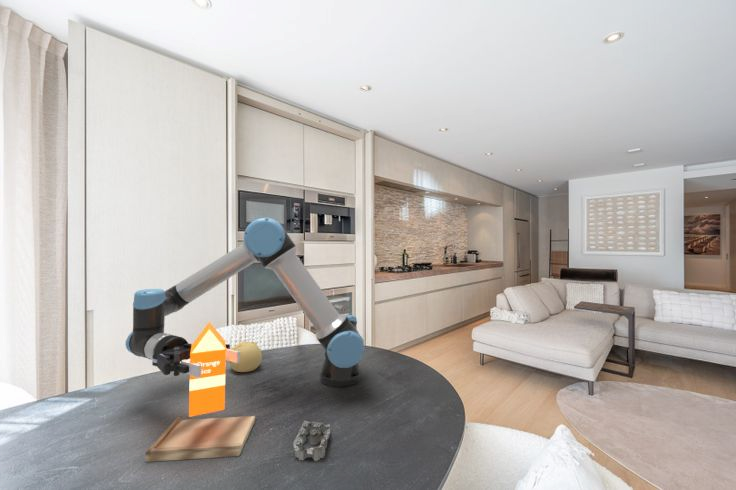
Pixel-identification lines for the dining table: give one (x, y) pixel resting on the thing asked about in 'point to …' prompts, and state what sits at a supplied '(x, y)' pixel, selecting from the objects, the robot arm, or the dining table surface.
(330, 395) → the dining table surface
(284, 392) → the dining table surface
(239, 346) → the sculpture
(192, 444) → the serving board
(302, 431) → the egg carton
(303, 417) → the dining table surface
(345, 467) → the dining table surface
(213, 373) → the orange juice
